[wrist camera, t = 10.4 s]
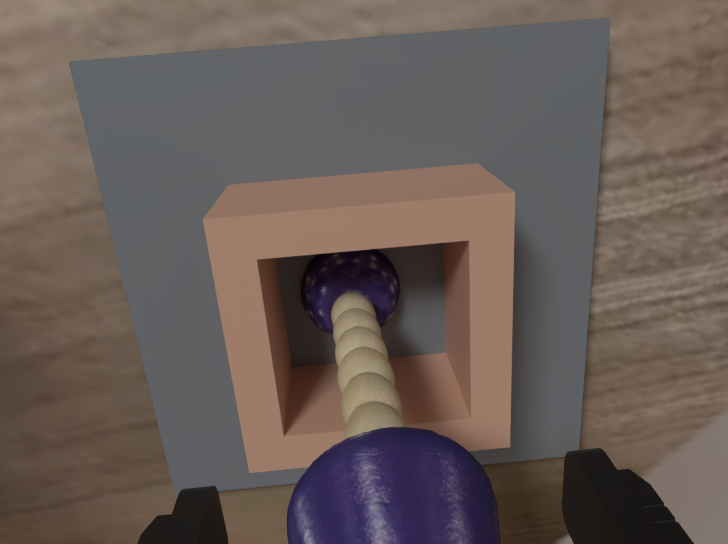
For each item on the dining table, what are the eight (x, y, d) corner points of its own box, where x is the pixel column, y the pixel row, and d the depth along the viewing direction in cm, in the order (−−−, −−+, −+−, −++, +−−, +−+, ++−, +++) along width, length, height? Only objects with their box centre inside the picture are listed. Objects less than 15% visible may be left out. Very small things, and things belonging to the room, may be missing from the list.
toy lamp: (383, 218, 24) (491, 542, 8) (431, 308, 25) (595, 721, 10) (282, 270, 24) (204, 666, 9) (334, 355, 26) (347, 814, 10)
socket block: (84, 60, 22) (-6, 64, 16) (593, 19, 23) (687, 8, 17) (182, 474, 30) (144, 583, 24) (567, 436, 30) (626, 533, 24)
